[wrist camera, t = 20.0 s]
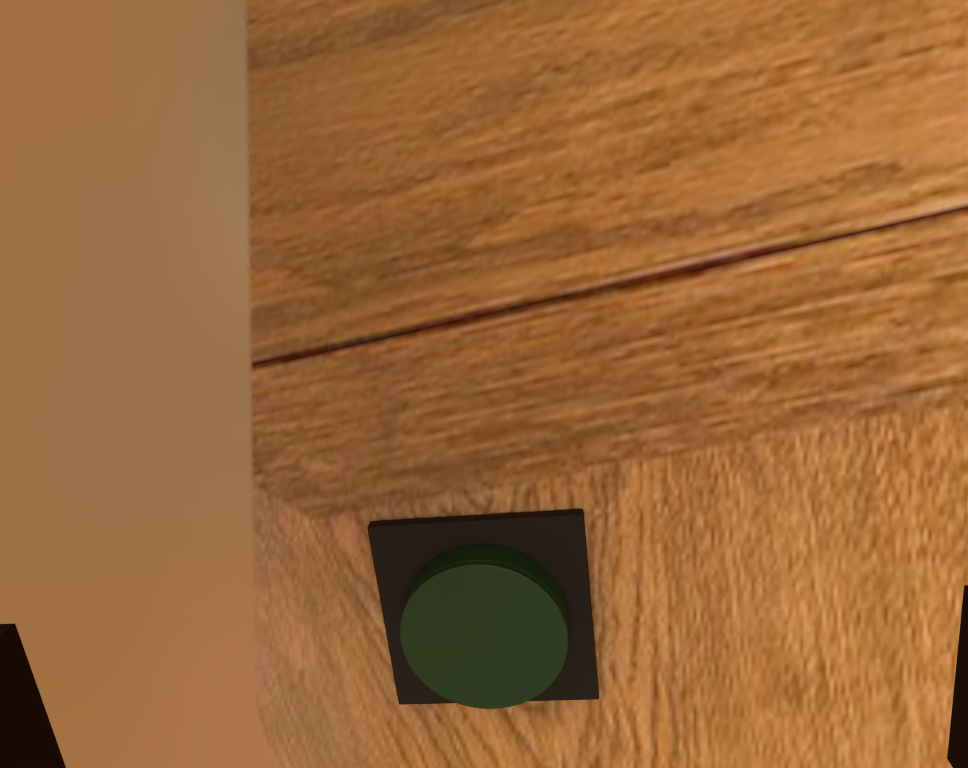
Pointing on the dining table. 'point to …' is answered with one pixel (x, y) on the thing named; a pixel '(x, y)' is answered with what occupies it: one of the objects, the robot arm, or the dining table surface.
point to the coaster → (533, 534)
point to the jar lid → (485, 627)
